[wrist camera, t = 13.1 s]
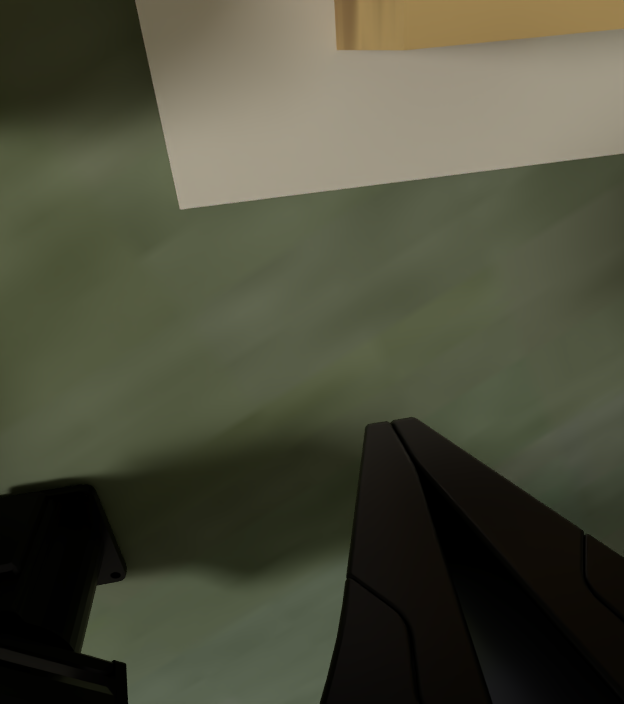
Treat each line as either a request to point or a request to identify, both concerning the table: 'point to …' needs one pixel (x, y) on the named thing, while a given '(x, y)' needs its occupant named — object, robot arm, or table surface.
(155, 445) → the table surface
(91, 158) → the table surface
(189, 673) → the table surface
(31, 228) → the table surface
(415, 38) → the taped shipping carton
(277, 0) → the base board
